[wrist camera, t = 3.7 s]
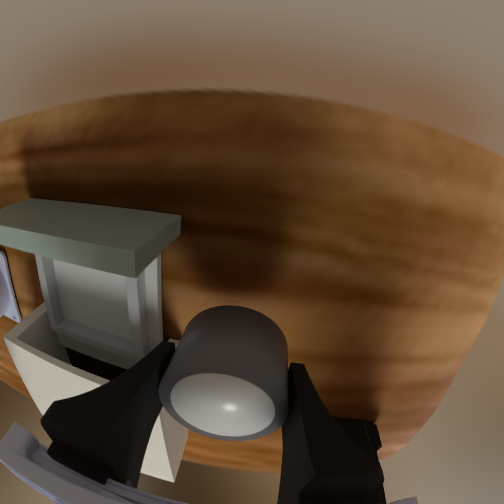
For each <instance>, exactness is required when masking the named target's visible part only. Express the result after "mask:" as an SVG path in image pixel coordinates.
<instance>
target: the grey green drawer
mask: <svg viewBox="0 0 504 504" xmlns="http://www.w3.org/2000/svg"><path fill="white" fill-rule="evenodd" d="M180 229H181V215H176V214H168V213H160V212H152V211H145V210H136V209H128V208H120V207H111V206H103V205H94V204H84V203H75V202H65V201H55V200H45V199H34V198H30V199H27V200H24V201H21V202H19V203H16V204H13V205H10V206H8V207H5V208H2V209H0V244H1V245H4V246H7V247H11V248H14V249H18V250H21V251H25V252H29V253H32V254H35V257H36V263H37V269H38V274H39V279H40V284H41V289H42V294H43V298H44V302H45V306H46V310H47V314H48V318H49V321H50V325H51V328H52V331H54V332H56V333H57V336H58V340H59V343H60V345H63V346H65V347H68V348H70V349H72V350H75V351H77V352H80V353H83V354H85V355H88V356H90V357H93V358H96V359H99V360H101V361H104V362H107V363H110V364H113V365H116V366H119V367H122V368H125V369H129V368H131V367H132V366H133V365H135V364H136V363H137V362H138V361H140V360H141V359H142V358H143V357H145V356H146V355H147V354H148V353H149V352H150V351H152V350H153V349H154V348H155V347H156V346H157V345H158V344H159V343H160V342H162V341H163V324H162V292H161V253H162V252H163V251H164V250H165V249H166V248H167V247H168V246H169V245H170V244H171V243H172V242H173V241H174V240H175V239H176V238H177V237H178V236H179V235H180Z"/></svg>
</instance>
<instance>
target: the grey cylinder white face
mask: <svg viewBox="0 0 504 504" xmlns="http://www.w3.org/2000/svg"><path fill="white" fill-rule="evenodd" d="M159 397H160V401H161V403H162V405H163V407H164V408H165V410H166V411H167V412H168V413H169V415H171V416H172V417H173V418H174V419H175V420H176V421H177V422H179V423H180V424H181V425H183V426H185V427H186V428H188V429H190V430H192V431H194V432H196V433H199V434H201V435H204V436H207V437H211V438H215V439H221V440H229V441H244V440H252V439H257V438H261V437H264V436H266V435H269V434H271V433H273V432H274V431H276V430H277V429H278V428H280V427H281V426H282V425H283V423H284V422H285V421H286V419H287V416H288V412H289V390H288V346H287V341H286V338H285V336H284V334H283V332H282V331H281V329H280V328H279V327H278V325H277V324H276V323H274V322H273V321H272V320H271V319H270V318H268V317H267V316H265V315H263V314H262V313H260V312H257V311H255V310H252V309H249V308H246V307H241V306H232V305H230V306H217V307H213V308H209V309H207V310H204V311H202V312H200V313H199V314H197V315H196V316H195V317H193V319H192V320H191V321H190V322H189V323H188V325H187V327H186V329H185V331H184V333H183V335H182V337H181V339H180V341H179V343H178V346H177V348H176V350H175V352H174V354H173V356H172V358H171V361H170V363H169V365H168V367H167V369H166V371H165V373H164V376H163V378H162V380H161V382H160V385H159Z"/></svg>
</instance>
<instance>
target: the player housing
mask: <svg viewBox="0 0 504 504" xmlns="http://www.w3.org/2000/svg"><path fill="white" fill-rule="evenodd" d="M4 340H5V342H6V345H7V347H8V350H9V352H10V354H11V356H12V359H13V361H14V363H15V365H16V367H17V369H18V372H19V374H20V376H21V378H22V380H23V382H24V384H25V385H26V387H27V389H28V391H29V393H30V395H31V396H32V398H33V400H34V402H35V403H36V405H37V407H38V409H39V410H40V412H41V414H42V415H44V414H45V412H46V411H47V409H48V408H49V406H50V405H51V404H52V403H53V402H54V401H57V400H61V399H66V398H70V397H74V396H77V395H80V394H83V393H85V392H88V391H91V390H93V389H95V388H97V387H99V386H101V385H103V384H105V383H107V382H109V381H110V380H107V379H104V378H101V377H99V376H96V375H94V374H91V373H89V372H86V371H84V370H81V369H79V368H76V367H74V366H72V365H71V362H70V359H69V356H68V353H67V350H66V347H65V346H63V345H60V343H59V340H58V336H57V333H56V332H54V331H52V328H51V325H50V321H49V318H48V314H47V310H46V306H45V302H43V303H42V304H41V305H40V306H38V307H37V308H36V309H35V310H34V311H32V312H31V313H30V314H29V315H28V316H27V317H25V318H24V319H23V320H22V321H21V322H20V323H19V324H17V325H16V326H15V327H14V328H13V329H12V330H11V331H10V332H9V333H7V334H6V335H5V336H4ZM168 342H173V343H175V350H176V348H177V346H178V343H179V340H175V339H169V340H168ZM187 438H188V428H186V427H185V426H183V425H181V424H180V423H179V422H177V421H176V420H175V419H174V418H173V417H172V416H171V415H169V413H168V412H167V411H166V410H165V408H164V407H162V409H161V411H160V413H159V416H158V418H157V420H156V422H155V424H154V427H153V430H152V433H151V436H150V439H149V442H148V446H147V449H146V453H145V456H144V460H143V464H142V468H141V473H144V474H147V475H150V476H153V477H157V478H160V479H164V480H167V481H171V482H175V478H176V475H177V471H178V468H179V465H180V461H181V458H182V455H183V451H184V448H185V445H186V441H187Z"/></svg>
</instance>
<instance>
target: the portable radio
mask: <svg viewBox="0 0 504 504" xmlns="http://www.w3.org/2000/svg"><path fill="white" fill-rule="evenodd" d="M334 420H335V421H336V423H337V424H338V425H339V426H340V428H341V429H342V430H343V431H344V432H345V433H346V434H347V435H348V436H349V437H350V438H351V439H352V440H353V441H354V442H355V443H356V444H357V445H358V446H359V447H360V448H361V449H362V450H364V451H365V452H366V453H367V454H369V455H370V456H372V457H373V458H374V459H376V460H377V461H379V460H378V455H377V451H378V450H379V449H380V448H381V447H382V445H381V440H380V436H379V432H378V429H377V426H376V425H375V424H373V423H371V422H366V421H355V420H343V419H334ZM369 504H386V499H385V493H384V487H383V484H382V485H381V486H380V487H379V488H377V489H376V490H375V491H373V492H372V493H371V501H370V502H369Z"/></svg>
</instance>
